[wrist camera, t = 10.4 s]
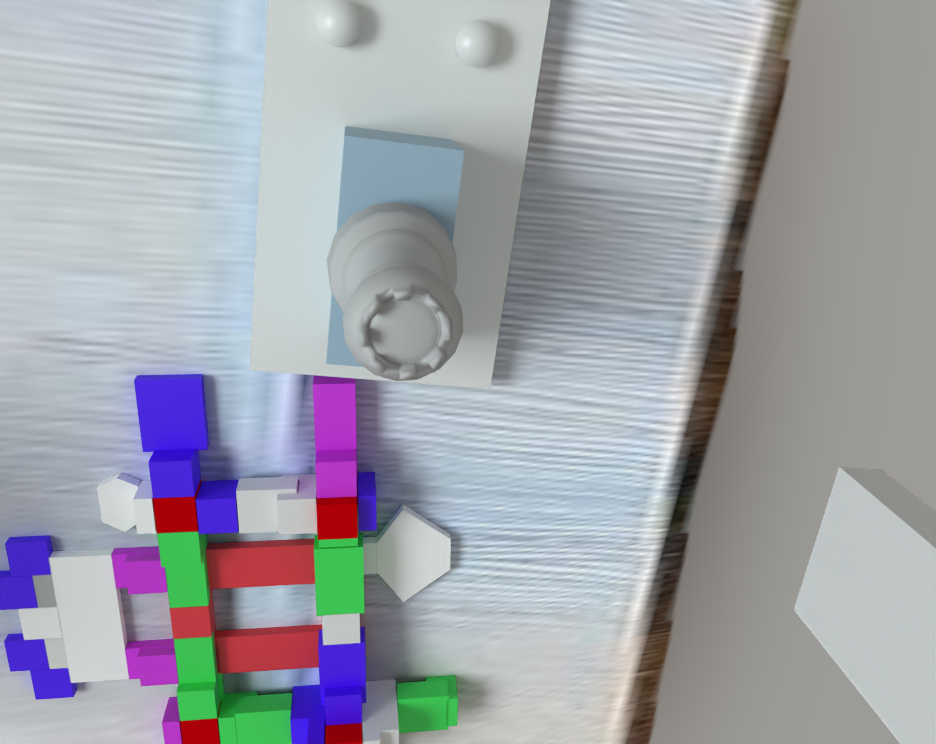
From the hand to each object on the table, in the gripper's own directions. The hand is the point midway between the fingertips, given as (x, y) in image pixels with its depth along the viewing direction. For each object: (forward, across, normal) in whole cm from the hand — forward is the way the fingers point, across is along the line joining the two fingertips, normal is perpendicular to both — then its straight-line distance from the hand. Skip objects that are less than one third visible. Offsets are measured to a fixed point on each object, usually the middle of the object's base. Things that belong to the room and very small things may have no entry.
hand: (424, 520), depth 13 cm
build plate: (+23, 0, +3) cm, 23 cm away
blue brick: (+22, 0, 0) cm, 22 cm away
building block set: (+23, -5, -19) cm, 31 cm away
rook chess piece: (+18, 0, 0) cm, 18 cm away
